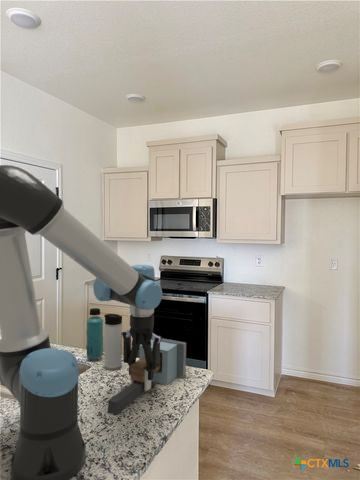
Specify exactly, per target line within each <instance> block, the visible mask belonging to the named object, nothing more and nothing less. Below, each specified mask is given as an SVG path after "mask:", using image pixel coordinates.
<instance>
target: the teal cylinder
mask: <svg viewBox="0 0 360 480" xmlns="http://www.w3.org/2000/svg"><path fill="white" fill-rule="evenodd" d="M89 315H90V317H89V318H87V320H86V345H85V347H86V349H85V350H86V357H87V358H88V359H99V358H101V357H103V356H104V355H103V354H104V332H103V331H104V329H103V328H104V319H103V317H101V316H100V315H101V309H100V308H98V307H97V308H96V307H92V308H90V309H89Z"/></svg>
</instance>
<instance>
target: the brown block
mask: <svg viewBox="0 0 360 480" xmlns="http://www.w3.org/2000/svg"><path fill="white" fill-rule="evenodd" d="M152 354H153V351H152ZM161 368H162V353H160V363H159V367H157V368H156V369H155V370H154V373H156V372H157V371H158V370H160V369H161ZM146 369H147V365H146V359H145V356H144V357H143V358H141V359H139V358H138V359H137V360H136V362H135V363H133V364H132V365H131V370H130V375H129V376H130V377H129V379H130V381H131V380H135V381H139V382H142V383H143V382H144V381H145V370H146ZM154 373H153V374H154Z"/></svg>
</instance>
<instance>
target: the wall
mask: <svg viewBox="0 0 360 480" xmlns="http://www.w3.org/2000/svg"><path fill="white" fill-rule="evenodd" d="M151 340H153V338H152V339H151ZM161 342H166V343H172V344H177V377H176V378H179V379H185V377H186V371H187V370H186V369H187V342H185V341H179V340H173V339H167V338H164V337H162V340H161Z"/></svg>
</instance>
